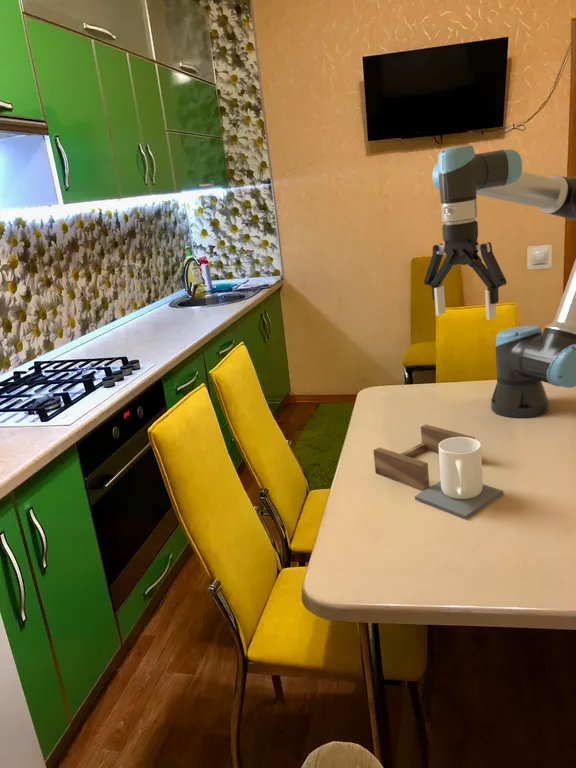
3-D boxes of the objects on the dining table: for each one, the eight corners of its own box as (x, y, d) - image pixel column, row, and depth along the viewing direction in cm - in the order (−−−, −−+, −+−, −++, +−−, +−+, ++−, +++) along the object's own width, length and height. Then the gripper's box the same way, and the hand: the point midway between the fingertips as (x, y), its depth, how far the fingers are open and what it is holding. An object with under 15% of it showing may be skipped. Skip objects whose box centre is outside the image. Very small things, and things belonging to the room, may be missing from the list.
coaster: (452, 477, 140) (452, 474, 140) (503, 494, 130) (503, 490, 130) (415, 499, 133) (414, 496, 132) (465, 519, 123) (465, 515, 122)
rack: (427, 446, 158) (425, 424, 156) (475, 460, 146) (474, 437, 145) (375, 473, 147) (373, 450, 145) (423, 491, 136) (421, 466, 134)
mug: (440, 508, 126) (437, 461, 123) (441, 481, 137) (438, 437, 134) (484, 509, 124) (482, 460, 121) (481, 481, 135) (480, 436, 132)
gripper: (404, 226, 142) (411, 316, 149) (501, 221, 123) (505, 324, 130) (424, 221, 147) (431, 309, 153) (521, 215, 128) (524, 315, 134)
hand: (465, 316), depth 142 cm, fingers open, 13 cm apart
